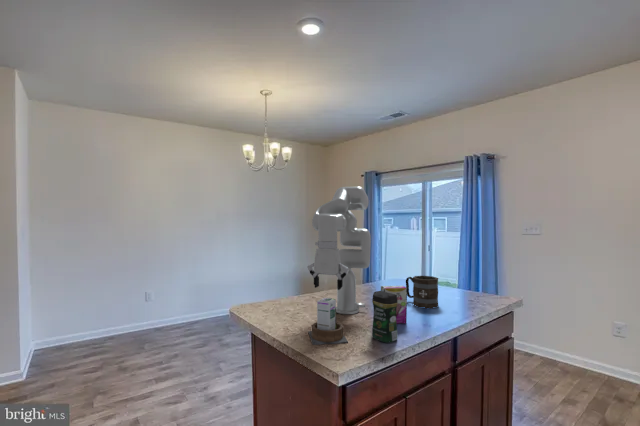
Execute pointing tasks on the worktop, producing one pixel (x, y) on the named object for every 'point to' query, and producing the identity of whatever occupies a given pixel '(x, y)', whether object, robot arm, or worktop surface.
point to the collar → (327, 335)
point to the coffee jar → (384, 316)
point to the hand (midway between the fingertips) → (328, 287)
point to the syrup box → (326, 314)
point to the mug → (424, 291)
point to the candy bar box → (399, 301)
